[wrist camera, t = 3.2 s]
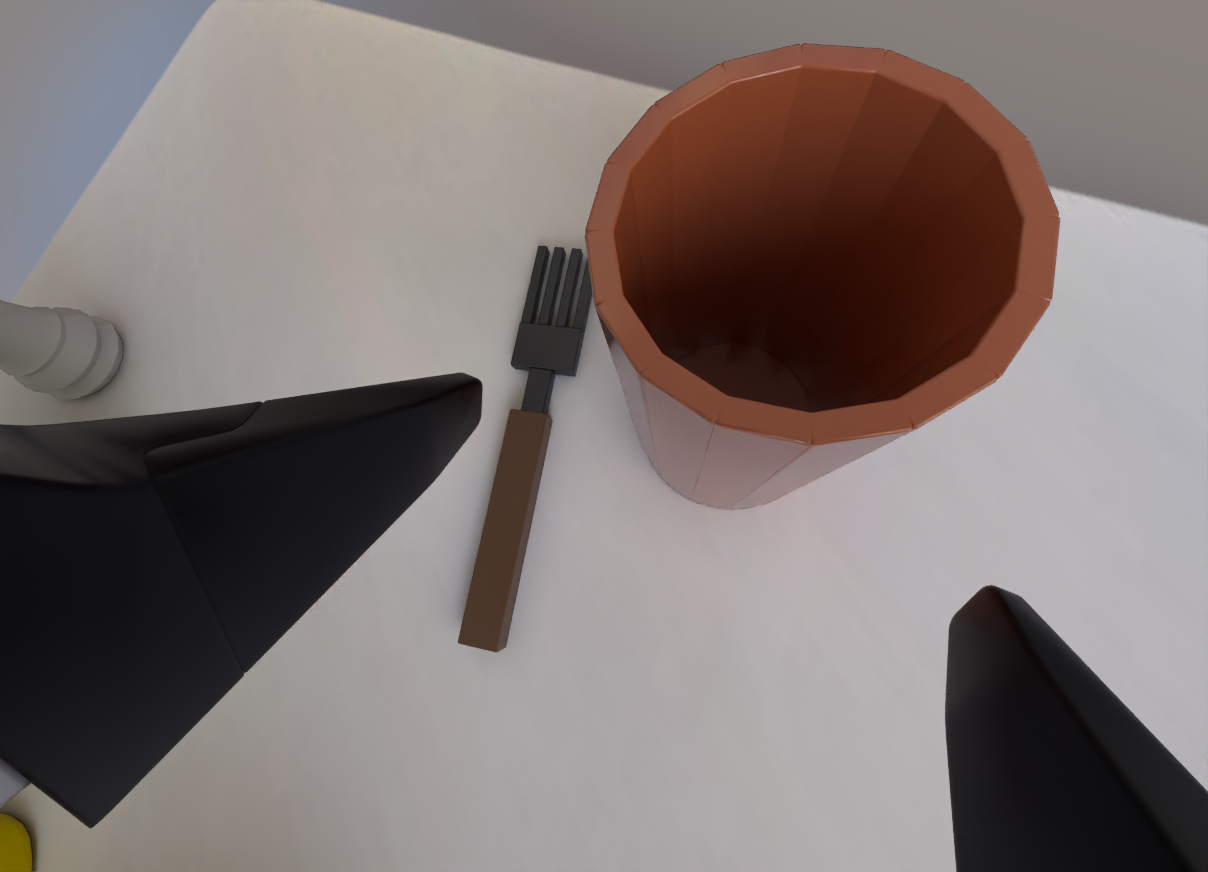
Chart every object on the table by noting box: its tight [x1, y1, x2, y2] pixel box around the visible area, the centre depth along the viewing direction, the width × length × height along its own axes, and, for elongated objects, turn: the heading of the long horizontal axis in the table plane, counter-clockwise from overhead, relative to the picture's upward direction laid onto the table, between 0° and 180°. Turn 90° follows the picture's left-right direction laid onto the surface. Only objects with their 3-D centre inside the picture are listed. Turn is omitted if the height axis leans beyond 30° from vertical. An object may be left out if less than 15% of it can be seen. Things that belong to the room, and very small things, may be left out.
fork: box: [458, 246, 592, 652], centre depth 20 cm, size 17×3×1 cm, turn 169°
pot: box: [585, 44, 1060, 509], centre depth 14 cm, size 7×7×12 cm
